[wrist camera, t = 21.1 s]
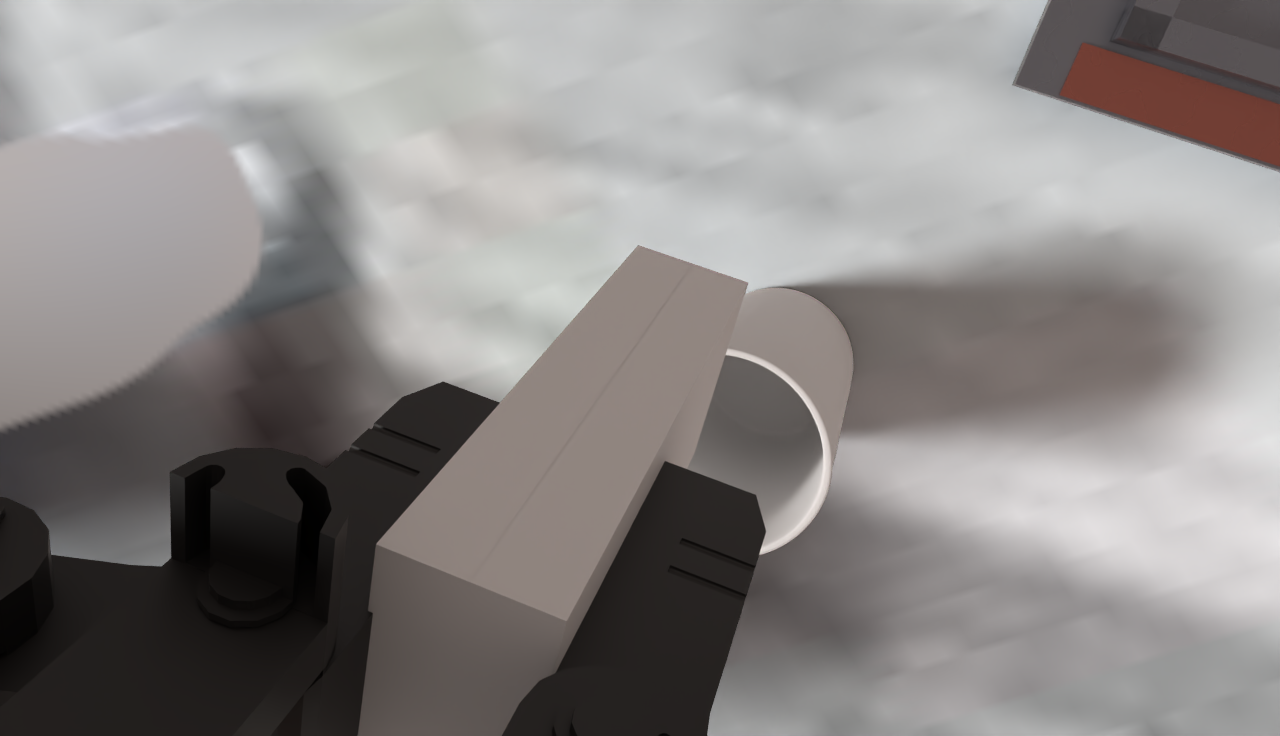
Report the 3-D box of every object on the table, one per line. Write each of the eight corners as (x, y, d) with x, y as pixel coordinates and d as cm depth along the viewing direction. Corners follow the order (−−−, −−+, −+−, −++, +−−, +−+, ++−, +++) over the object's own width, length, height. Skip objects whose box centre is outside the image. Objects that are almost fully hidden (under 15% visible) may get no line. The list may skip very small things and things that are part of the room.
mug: (881, 305, 39) (859, 385, 28) (836, 458, 41) (799, 589, 30) (643, 241, 41) (534, 291, 30) (611, 390, 43) (498, 488, 32)
